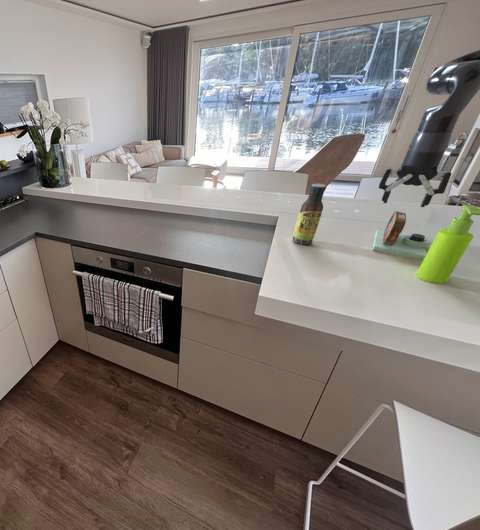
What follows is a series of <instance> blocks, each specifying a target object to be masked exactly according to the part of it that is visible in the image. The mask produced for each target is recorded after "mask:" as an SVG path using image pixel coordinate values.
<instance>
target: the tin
mask: <svg viewBox="0 0 480 530" xmlns="http://www.w3.org/2000/svg"><path fill="white" fill-rule="evenodd" d="M406 222H407V214H406V212H402V211H397V210H395V211H394V212H393V214H392V215H391V216H390V218H389V220H388V223H387V225H386V227H385V228H384V230H385V231H384V235H383V243H386V244H391V245H393V244H395V243H396V241H397V238H398V236H399V235H400V233H403V230H404V228H405V225H406Z"/></svg>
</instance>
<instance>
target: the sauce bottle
mask: <svg viewBox="0 0 480 530" xmlns="http://www.w3.org/2000/svg"><path fill="white" fill-rule="evenodd" d="M326 190H327V185H326V184H323V183H313V184H311V186H310V191H309V194H308V196H307V198H306V200H305V201H304V202H303V203H302V204H301V207H300V210H299V212H298V216H297V219H296V223H295V227H294V230H293V233H292V239H293V240H292V239H291V240H292V242H294V241H295V242H297V243H302V244H308V245H311V244H312V242H313V240H314V239H315V235H316V233H317V229H318V226H319V223H320V221H321V218H322V215H323V210H324V204H323V201H322V200H323V196H324V193H325V192H326ZM295 242H294V243H295ZM297 243H296V244H297ZM310 243H311V244H310ZM302 244H301V245H302Z"/></svg>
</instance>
